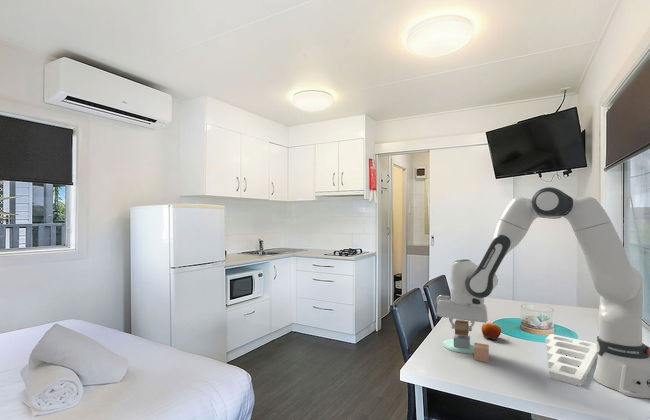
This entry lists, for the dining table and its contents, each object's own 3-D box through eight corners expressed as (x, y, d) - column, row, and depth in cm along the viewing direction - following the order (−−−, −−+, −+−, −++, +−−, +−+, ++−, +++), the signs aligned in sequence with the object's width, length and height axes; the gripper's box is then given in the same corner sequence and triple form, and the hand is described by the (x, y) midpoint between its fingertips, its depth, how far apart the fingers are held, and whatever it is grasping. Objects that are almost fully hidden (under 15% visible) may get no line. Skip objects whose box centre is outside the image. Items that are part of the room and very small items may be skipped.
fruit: (480, 337, 152) (481, 319, 156) (481, 341, 158) (482, 324, 162) (501, 340, 149) (501, 322, 152) (501, 344, 154) (501, 327, 158)
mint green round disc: (483, 343, 149) (483, 334, 149) (481, 356, 135) (481, 346, 135) (444, 337, 156) (444, 328, 156) (439, 349, 142) (439, 339, 142)
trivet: (580, 388, 111) (580, 379, 111) (519, 370, 124) (519, 362, 124) (601, 350, 142) (600, 344, 142) (550, 339, 155) (550, 333, 155)
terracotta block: (488, 357, 134) (488, 344, 134) (488, 362, 130) (488, 349, 130) (474, 355, 136) (474, 342, 136) (474, 359, 132) (474, 346, 132)
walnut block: (467, 336, 142) (467, 324, 142) (454, 334, 145) (454, 322, 145) (468, 332, 147) (468, 320, 147) (456, 330, 149) (456, 319, 149)
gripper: (435, 296, 148) (435, 328, 148) (487, 301, 139) (487, 335, 138) (437, 293, 153) (437, 324, 153) (487, 298, 144) (488, 331, 144)
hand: (461, 329), depth 146 cm, fingers closed on walnut block, 5 cm apart
